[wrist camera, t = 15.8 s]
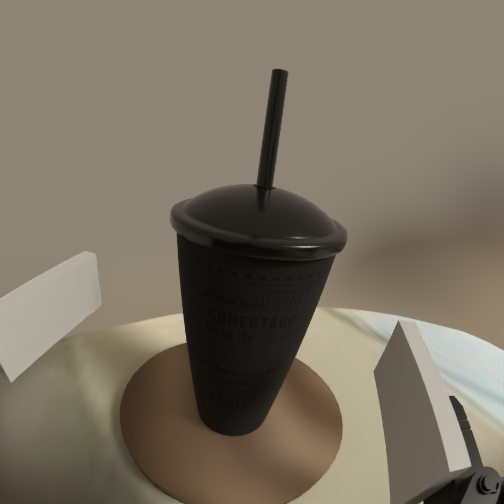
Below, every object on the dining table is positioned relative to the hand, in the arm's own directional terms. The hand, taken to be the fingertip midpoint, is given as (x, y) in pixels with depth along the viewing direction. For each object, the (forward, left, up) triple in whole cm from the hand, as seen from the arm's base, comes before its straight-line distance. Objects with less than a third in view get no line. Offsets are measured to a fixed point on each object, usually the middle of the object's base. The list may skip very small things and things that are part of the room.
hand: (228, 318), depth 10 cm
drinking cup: (-2, -2, -10) cm, 11 cm away
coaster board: (-2, -2, -12) cm, 12 cm away
